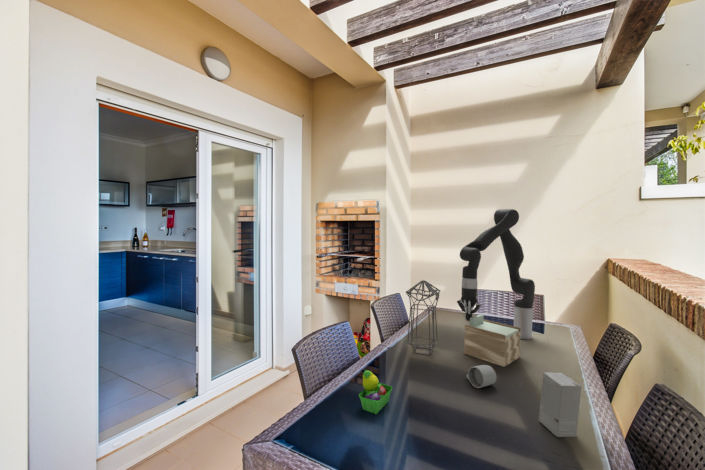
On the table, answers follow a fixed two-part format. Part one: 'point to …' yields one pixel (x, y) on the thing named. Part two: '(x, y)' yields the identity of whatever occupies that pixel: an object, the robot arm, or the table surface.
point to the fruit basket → (374, 393)
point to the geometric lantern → (423, 309)
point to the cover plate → (491, 326)
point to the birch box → (492, 345)
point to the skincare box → (559, 404)
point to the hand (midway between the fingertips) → (468, 320)
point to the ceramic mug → (481, 376)
